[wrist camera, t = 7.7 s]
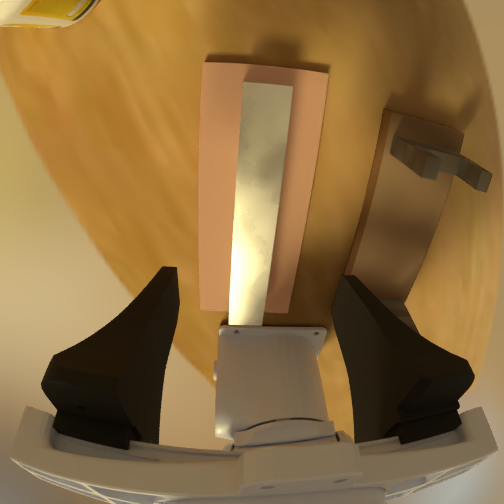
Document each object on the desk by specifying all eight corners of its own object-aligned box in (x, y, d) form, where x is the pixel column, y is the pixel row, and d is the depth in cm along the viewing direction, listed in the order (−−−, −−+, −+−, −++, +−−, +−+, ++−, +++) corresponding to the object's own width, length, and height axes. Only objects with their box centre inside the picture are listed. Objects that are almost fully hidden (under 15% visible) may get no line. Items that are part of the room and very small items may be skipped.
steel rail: (260, 303, 24) (261, 325, 22) (229, 301, 24) (228, 324, 22) (286, 83, 15) (293, 86, 14) (243, 80, 15) (243, 81, 13)
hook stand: (391, 312, 26) (410, 356, 22) (331, 313, 26) (345, 361, 22) (454, 129, 17) (502, 153, 13) (383, 108, 17) (426, 127, 12)
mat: (201, 304, 25) (200, 309, 25) (204, 62, 15) (202, 62, 15) (286, 308, 26) (287, 313, 25) (326, 73, 16) (328, 73, 15)
